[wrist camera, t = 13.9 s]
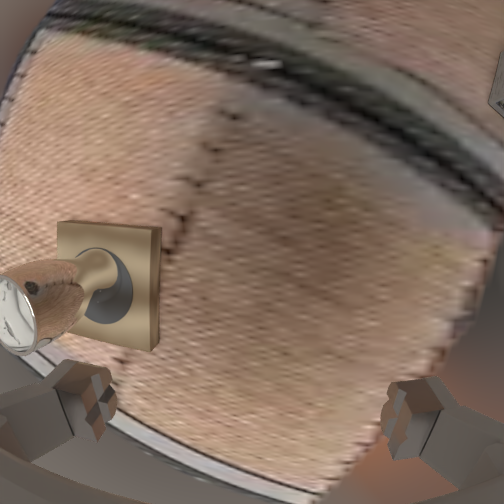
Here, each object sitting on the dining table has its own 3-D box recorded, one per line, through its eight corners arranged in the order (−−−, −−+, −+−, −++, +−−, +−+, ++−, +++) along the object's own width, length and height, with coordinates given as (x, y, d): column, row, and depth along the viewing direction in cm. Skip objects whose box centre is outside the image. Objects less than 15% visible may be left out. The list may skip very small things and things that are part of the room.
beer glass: (75, 298, 34) (-11, 344, 20) (75, 240, 33) (-21, 265, 18) (124, 309, 34) (44, 370, 19) (126, 248, 33) (34, 281, 18)
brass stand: (71, 220, 37) (55, 222, 33) (161, 227, 36) (150, 230, 32) (74, 323, 39) (60, 331, 35) (159, 342, 38) (149, 353, 34)
